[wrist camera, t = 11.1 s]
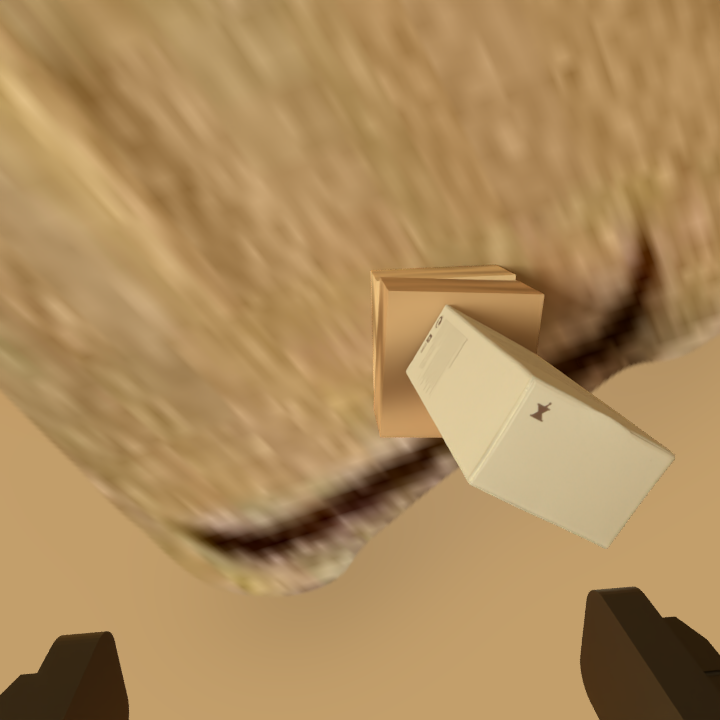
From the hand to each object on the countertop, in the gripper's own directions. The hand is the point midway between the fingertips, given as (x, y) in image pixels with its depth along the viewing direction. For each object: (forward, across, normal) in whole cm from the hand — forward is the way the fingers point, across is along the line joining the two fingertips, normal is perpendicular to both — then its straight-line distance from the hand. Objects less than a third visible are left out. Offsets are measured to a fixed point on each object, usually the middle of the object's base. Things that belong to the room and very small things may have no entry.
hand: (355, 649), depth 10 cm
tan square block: (+24, -7, +3) cm, 25 cm away
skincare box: (+20, -7, +3) cm, 22 cm away
